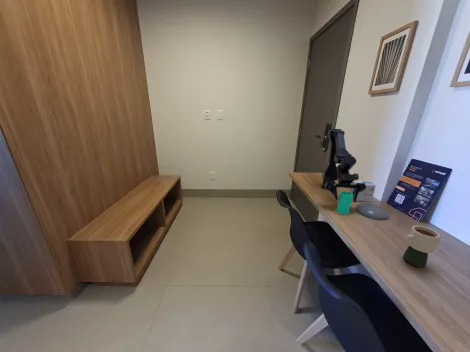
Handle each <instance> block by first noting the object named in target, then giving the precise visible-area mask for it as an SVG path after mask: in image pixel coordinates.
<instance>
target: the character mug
mask: <svg viewBox="0 0 470 352" xmlns="http://www.w3.org/2000/svg"><path fill="white" fill-rule="evenodd" d="M440 240H441V235H440V234H439V232H437V231H435V230H434V229H432V228H429V227H426V226H424V225H413V226H412V227H411V228H410V230H409V233H408V234H407V235H406V236H405V239H404V242H405V244H407V245H408V247H407V248H406V250H405V252H404V253H403V255H402V258H403V259H404V260H405V261H406V262H407V263H409V264H411V265H413V266H415V267H418V268H425V267H426V266H427V262H428V257H429V254H431V253H433V252H434V251H435V249H436V247H437V245H438V244H439V242H440Z"/></svg>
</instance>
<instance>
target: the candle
mask: <svg viewBox="0 0 470 352" xmlns="http://www.w3.org/2000/svg"><path fill="white" fill-rule="evenodd" d="M352 197H353V194H352V193H350V191H348V190H346V191H339V195H338V200H337V206H336V210H335V211H336V212H337V213H338V214H340V215H349V212H350V209H351V205H352V201H353V200H352Z"/></svg>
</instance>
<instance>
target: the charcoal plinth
mask: <svg viewBox="0 0 470 352" xmlns="http://www.w3.org/2000/svg"><path fill="white" fill-rule="evenodd" d="M356 212H357V213H358V214H360V215H362V216H363V217H366V218H369V219H372V220H377V221H385V220H387V219H388V218H389V215H390V212H389V211H388V210H387V209H386V208H384V207H382V206H379V205H376V204H373V203H368V202H367V203H366V202H365V203H363V202H362V203H359V204H357V205H356Z"/></svg>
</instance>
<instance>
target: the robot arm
mask: <svg viewBox="0 0 470 352" xmlns="http://www.w3.org/2000/svg"><path fill="white" fill-rule="evenodd" d="M327 137H328V138H327V139H328V141H329V144H330V145H329V154H328V163H327V165H326V167H325V168H324V171H323V172H322V174H321V179H322V185H321V186H320V187H321V188H322V189H325V190H327V191H330V193H331V194H332V195H333V197H334V200H335V202H336V201H337V202H338V200H339V195H338V190H337V189H338V188H344V189H350V188H353V190H354V191H353V192H352V193H353V200H352V201H353V203H356V202H357V201H356V199H357V196H358V193H359V192H362V191H363V190H365V189H366V184H364V183H356V184H355V185H351V183H353V181H359V178H360V177H359V173H353V174H351V173H350V170H352V169H353V167H354V166H355V165H356V164H357V158H356V157H354V156H353V155H352V154H351V153H350V152H349V150H347V148H346V142H345V130H342V129H341V128H330V130H328V131H327ZM337 164H338V165H337ZM336 181H337V182H336Z"/></svg>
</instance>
